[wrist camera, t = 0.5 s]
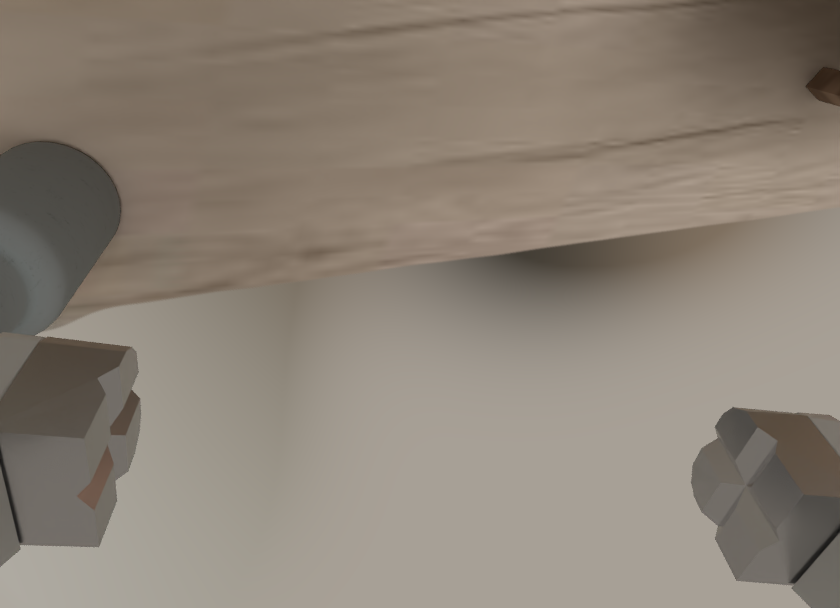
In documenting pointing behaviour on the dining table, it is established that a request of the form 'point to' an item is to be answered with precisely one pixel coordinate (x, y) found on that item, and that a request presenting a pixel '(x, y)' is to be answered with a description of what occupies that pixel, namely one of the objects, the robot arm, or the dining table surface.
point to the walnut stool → (826, 86)
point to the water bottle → (49, 230)
